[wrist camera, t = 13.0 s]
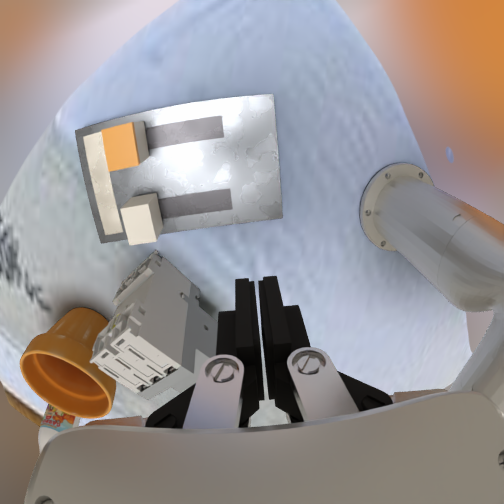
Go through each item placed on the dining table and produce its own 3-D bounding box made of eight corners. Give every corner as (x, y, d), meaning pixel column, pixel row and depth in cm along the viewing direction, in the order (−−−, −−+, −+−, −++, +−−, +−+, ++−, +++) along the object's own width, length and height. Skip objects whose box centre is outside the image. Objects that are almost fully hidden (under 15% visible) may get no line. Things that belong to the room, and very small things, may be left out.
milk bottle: (91, 406, 51) (72, 483, 34) (71, 410, 52) (51, 480, 34) (66, 385, 48) (39, 464, 30) (47, 390, 49) (22, 462, 31)
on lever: (156, 192, 31) (148, 203, 27) (163, 226, 33) (156, 241, 29) (131, 197, 31) (120, 208, 27) (138, 230, 33) (129, 245, 29)
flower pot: (67, 355, 44) (44, 410, 33) (41, 290, 38) (3, 344, 26) (137, 361, 46) (124, 424, 34) (119, 293, 39) (92, 358, 28)
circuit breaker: (193, 340, 44) (189, 422, 31) (121, 282, 39) (87, 360, 25) (229, 315, 43) (235, 399, 29) (156, 249, 37) (126, 326, 24)
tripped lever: (144, 120, 27) (131, 122, 23) (149, 157, 29) (138, 165, 25) (117, 126, 27) (101, 130, 23) (123, 163, 29) (108, 171, 25)
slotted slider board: (269, 95, 30) (273, 93, 28) (278, 211, 36) (282, 218, 34) (83, 128, 29) (74, 130, 27) (107, 235, 35) (100, 243, 33)
